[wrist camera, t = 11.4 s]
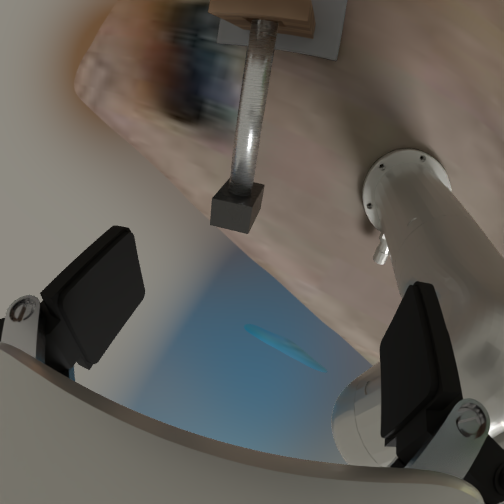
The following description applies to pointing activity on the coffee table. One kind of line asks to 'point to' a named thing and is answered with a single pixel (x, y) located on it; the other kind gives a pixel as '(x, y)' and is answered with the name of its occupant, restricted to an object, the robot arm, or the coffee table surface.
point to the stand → (268, 14)
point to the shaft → (247, 135)
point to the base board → (322, 45)
